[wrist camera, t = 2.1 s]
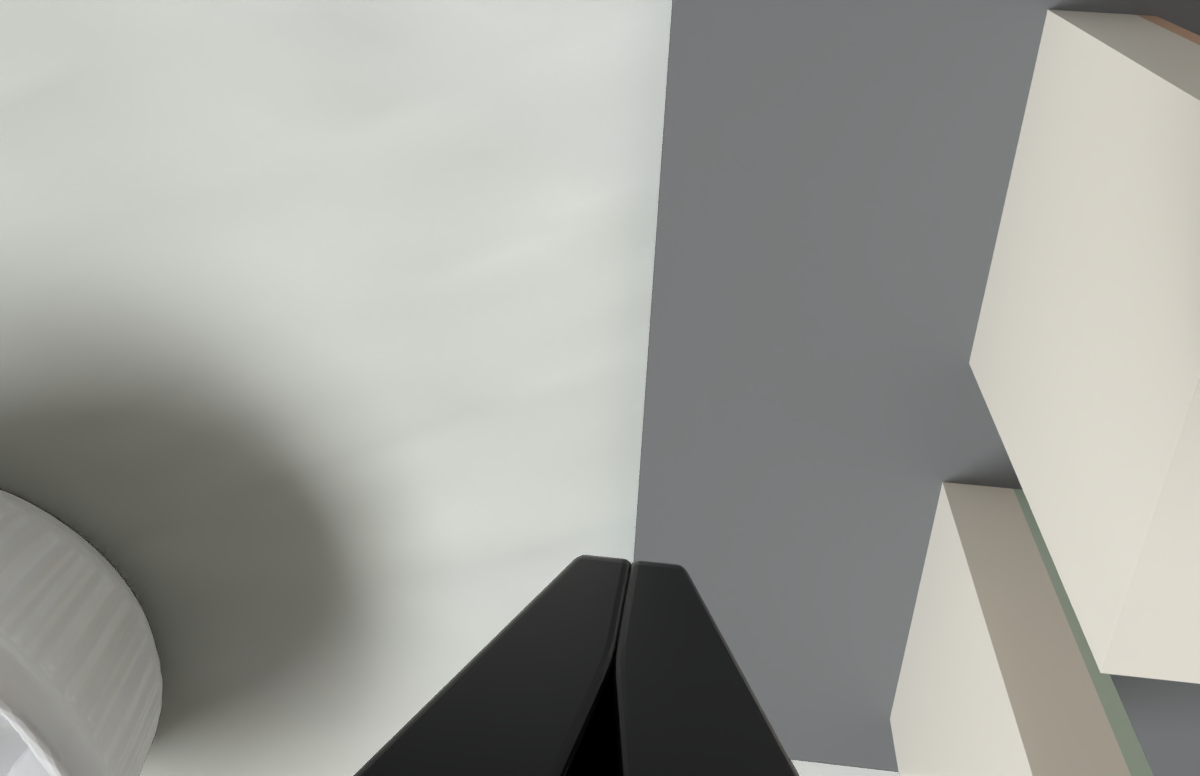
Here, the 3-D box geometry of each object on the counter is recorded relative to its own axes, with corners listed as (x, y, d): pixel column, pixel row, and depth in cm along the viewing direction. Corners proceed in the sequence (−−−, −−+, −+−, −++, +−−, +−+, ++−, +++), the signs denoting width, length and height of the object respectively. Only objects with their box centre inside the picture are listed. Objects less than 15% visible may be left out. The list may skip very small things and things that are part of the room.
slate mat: (1821, -101, 15) (1861, -99, 15) (1355, 804, 24) (1369, 827, 23) (685, -157, 17) (683, -157, 16) (623, 720, 25) (620, 739, 24)
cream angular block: (1157, 15, 16) (1471, 160, 9) (1061, 370, 19) (1248, 689, 12) (1047, 9, 17) (1277, 146, 9) (969, 363, 19) (1099, 672, 12)
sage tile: (1029, 490, 20) (1183, 844, 13) (965, 727, 23) (1065, 1124, 16) (942, 482, 20) (1049, 827, 13) (889, 719, 23) (955, 1109, 16)
